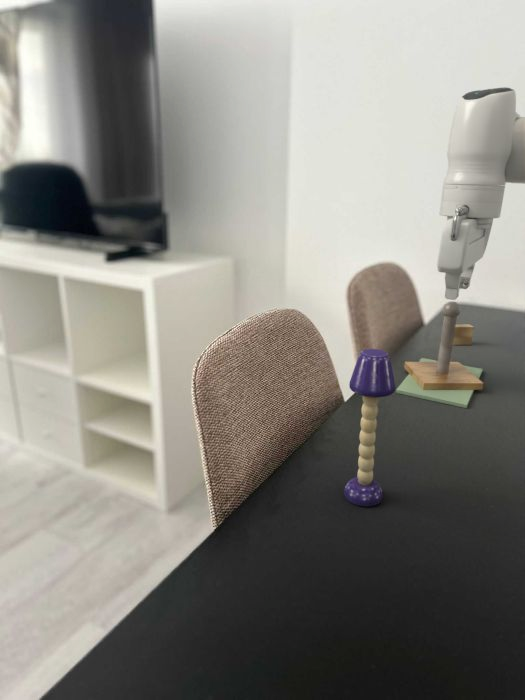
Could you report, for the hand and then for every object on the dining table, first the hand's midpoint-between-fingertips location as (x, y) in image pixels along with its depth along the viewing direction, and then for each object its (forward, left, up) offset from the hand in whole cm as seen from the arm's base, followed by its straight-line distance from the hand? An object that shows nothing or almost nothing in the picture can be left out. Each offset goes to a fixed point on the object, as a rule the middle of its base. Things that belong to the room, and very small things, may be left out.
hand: (457, 293), depth 83 cm
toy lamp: (+22, +31, -16) cm, 42 cm away
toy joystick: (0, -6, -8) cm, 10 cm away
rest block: (-12, -22, -16) cm, 29 cm away
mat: (0, -1, -16) cm, 16 cm away
